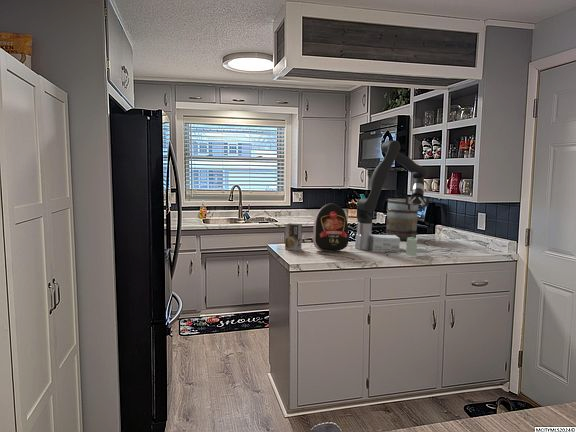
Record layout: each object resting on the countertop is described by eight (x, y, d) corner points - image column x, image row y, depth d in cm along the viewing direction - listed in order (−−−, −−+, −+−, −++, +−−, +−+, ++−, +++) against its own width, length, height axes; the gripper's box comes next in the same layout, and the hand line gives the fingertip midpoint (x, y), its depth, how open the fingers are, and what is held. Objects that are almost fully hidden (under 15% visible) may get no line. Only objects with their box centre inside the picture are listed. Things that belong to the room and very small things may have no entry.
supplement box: (394, 248, 287) (395, 234, 286) (399, 252, 274) (400, 238, 273) (369, 247, 287) (370, 233, 286) (373, 251, 274) (373, 237, 273)
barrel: (401, 235, 343) (404, 198, 340) (422, 240, 323) (425, 200, 320) (379, 236, 333) (382, 198, 330) (399, 241, 313) (402, 201, 310)
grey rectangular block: (416, 255, 260) (417, 238, 259) (405, 254, 262) (407, 237, 261) (416, 253, 269) (417, 236, 267) (406, 252, 270) (407, 235, 269)
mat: (418, 254, 270) (418, 253, 270) (406, 250, 281) (406, 249, 281) (433, 253, 274) (433, 252, 274) (421, 249, 285) (421, 248, 285)
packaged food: (316, 254, 258) (318, 204, 255) (309, 247, 278) (311, 202, 274) (351, 254, 262) (353, 205, 258) (342, 248, 281) (344, 202, 278)
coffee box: (301, 249, 272) (302, 224, 270) (297, 250, 266) (298, 225, 264) (288, 247, 276) (289, 222, 274) (284, 249, 270) (285, 224, 268)
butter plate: (409, 257, 258) (409, 251, 257) (397, 253, 269) (397, 247, 268) (425, 256, 262) (425, 250, 262) (412, 252, 273) (413, 246, 273)
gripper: (407, 187, 285) (404, 205, 275) (429, 188, 280) (428, 206, 271) (406, 194, 290) (404, 212, 281) (428, 196, 286) (427, 214, 277)
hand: (416, 209), depth 276 cm, fingers open, 8 cm apart
